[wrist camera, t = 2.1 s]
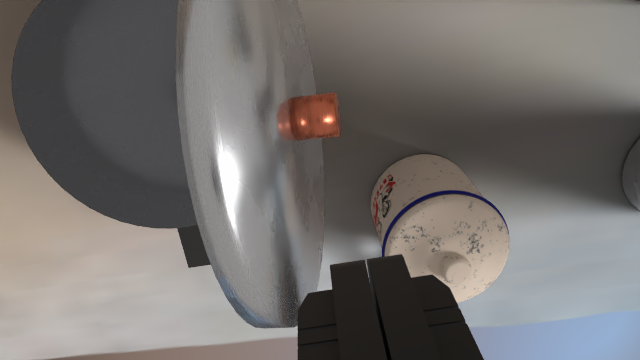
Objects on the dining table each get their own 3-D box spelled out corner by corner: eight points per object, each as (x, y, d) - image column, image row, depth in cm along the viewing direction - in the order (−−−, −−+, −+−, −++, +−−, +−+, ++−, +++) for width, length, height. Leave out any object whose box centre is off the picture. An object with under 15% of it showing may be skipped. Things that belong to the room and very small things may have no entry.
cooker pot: (259, -119, 35) (246, -149, 26) (313, 199, 44) (317, 261, 35) (28, -81, 35) (-67, -97, 26) (129, 227, 45) (85, 296, 35)
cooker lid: (269, -70, 27) (329, -80, 27) (316, 212, 34) (365, 209, 33) (112, -92, 12) (243, -117, 12) (252, 427, 18) (341, 427, 18)
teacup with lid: (362, 157, 43) (384, 221, 32) (471, 143, 43) (530, 202, 32) (374, 279, 48) (396, 370, 37) (472, 266, 48) (524, 354, 37)
